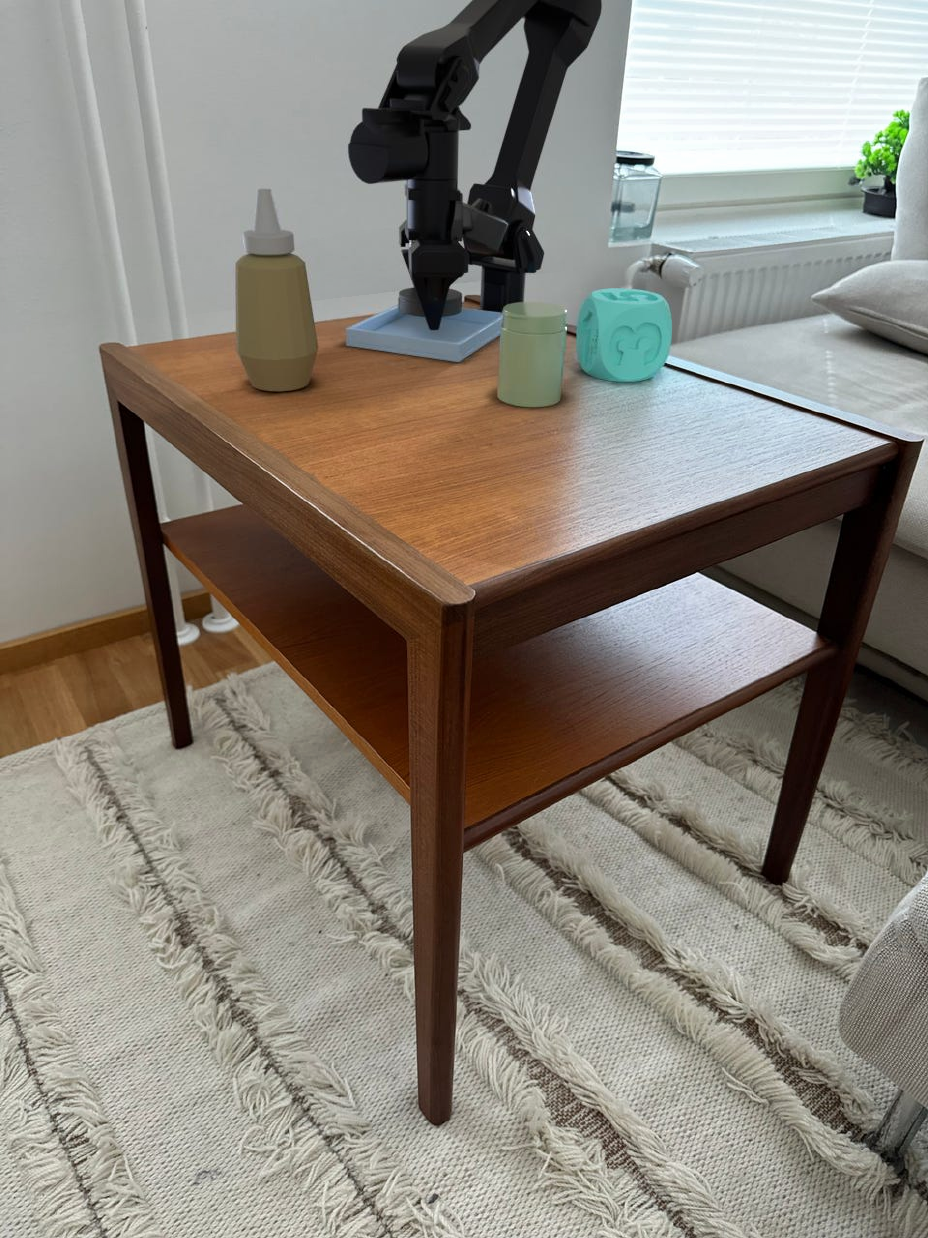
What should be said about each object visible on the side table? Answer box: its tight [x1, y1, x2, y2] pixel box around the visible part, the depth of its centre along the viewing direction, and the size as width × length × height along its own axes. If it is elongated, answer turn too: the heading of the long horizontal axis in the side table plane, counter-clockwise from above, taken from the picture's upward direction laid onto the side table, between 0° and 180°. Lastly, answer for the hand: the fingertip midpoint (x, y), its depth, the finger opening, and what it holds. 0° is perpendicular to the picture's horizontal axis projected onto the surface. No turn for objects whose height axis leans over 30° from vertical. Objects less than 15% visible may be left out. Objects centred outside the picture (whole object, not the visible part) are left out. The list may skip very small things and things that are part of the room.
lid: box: [397, 286, 463, 317], centre depth 106 cm, size 8×8×2 cm
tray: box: [345, 304, 503, 363], centre depth 107 cm, size 16×14×2 cm
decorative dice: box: [575, 287, 673, 383], centre depth 96 cm, size 8×8×8 cm
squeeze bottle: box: [234, 188, 319, 392], centre depth 86 cm, size 8×8×18 cm
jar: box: [496, 301, 568, 408], centre depth 88 cm, size 6×6×9 cm
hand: (430, 321), depth 107 cm, fingers closed on lid, 7 cm apart
